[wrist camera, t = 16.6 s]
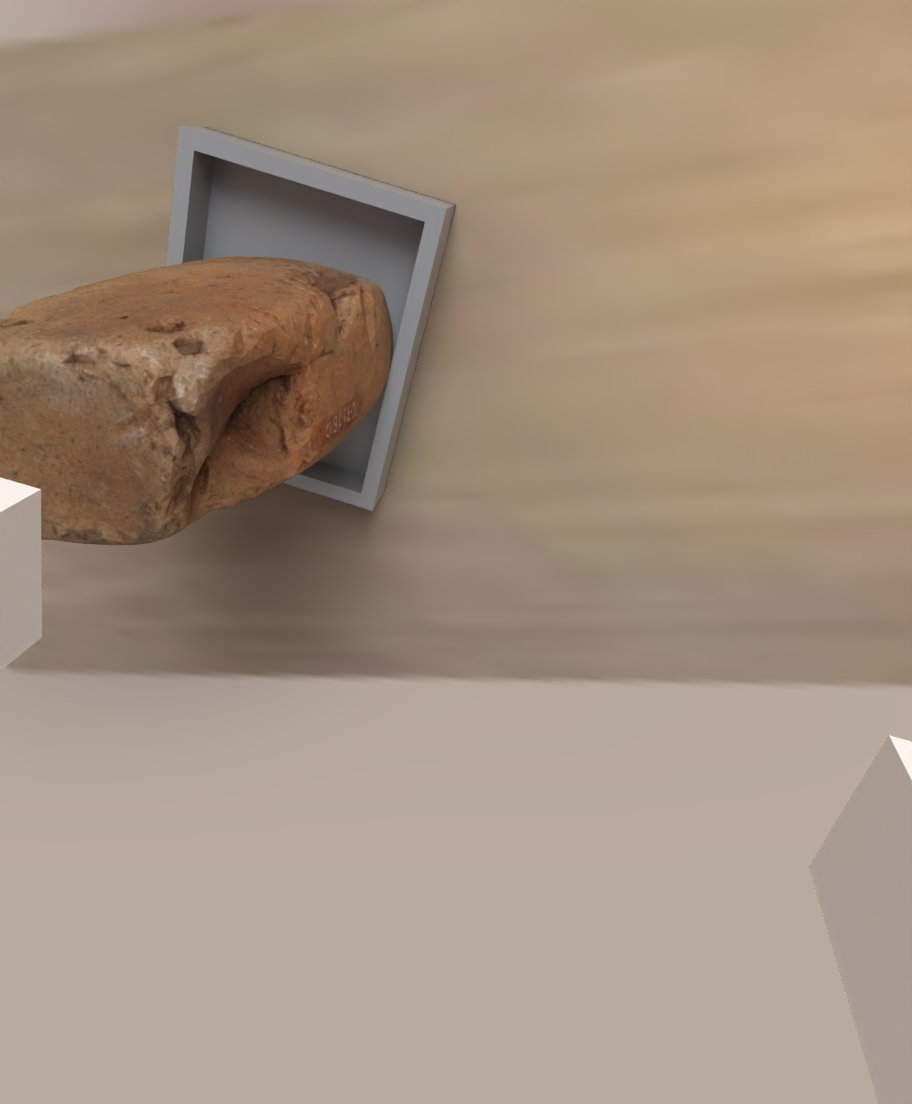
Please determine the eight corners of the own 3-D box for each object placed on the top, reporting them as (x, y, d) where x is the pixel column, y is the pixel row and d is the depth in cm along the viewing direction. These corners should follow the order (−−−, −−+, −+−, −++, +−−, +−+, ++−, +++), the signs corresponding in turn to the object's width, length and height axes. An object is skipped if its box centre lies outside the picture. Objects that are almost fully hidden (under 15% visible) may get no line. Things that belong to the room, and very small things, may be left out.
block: (212, 391, 44) (-59, 548, 27) (195, 246, 41) (-126, 315, 23) (404, 405, 43) (251, 582, 25) (403, 255, 39) (225, 336, 22)
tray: (456, 204, 39) (446, 208, 36) (384, 490, 46) (372, 510, 44) (206, 127, 39) (179, 126, 36) (174, 424, 46) (149, 441, 44)
